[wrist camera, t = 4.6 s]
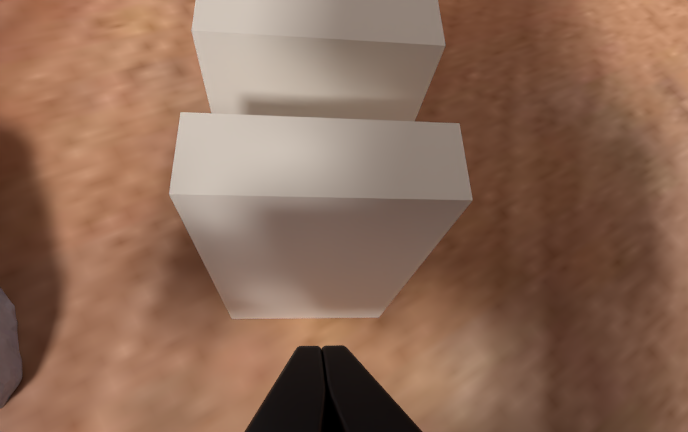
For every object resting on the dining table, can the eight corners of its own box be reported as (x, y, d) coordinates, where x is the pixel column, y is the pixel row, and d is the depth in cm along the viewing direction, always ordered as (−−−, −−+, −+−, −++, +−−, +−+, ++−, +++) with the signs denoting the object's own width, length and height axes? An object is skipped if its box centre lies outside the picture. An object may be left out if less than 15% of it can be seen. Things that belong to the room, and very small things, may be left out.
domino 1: (378, 317, 16) (472, 200, 8) (231, 319, 15) (169, 194, 7) (375, 273, 17) (459, 123, 8) (234, 273, 16) (180, 111, 8)
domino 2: (372, 224, 17) (445, 45, 9) (238, 223, 17) (191, 30, 9) (369, 187, 18) (436, -10, 10) (240, 184, 18) (199, -27, 9)
